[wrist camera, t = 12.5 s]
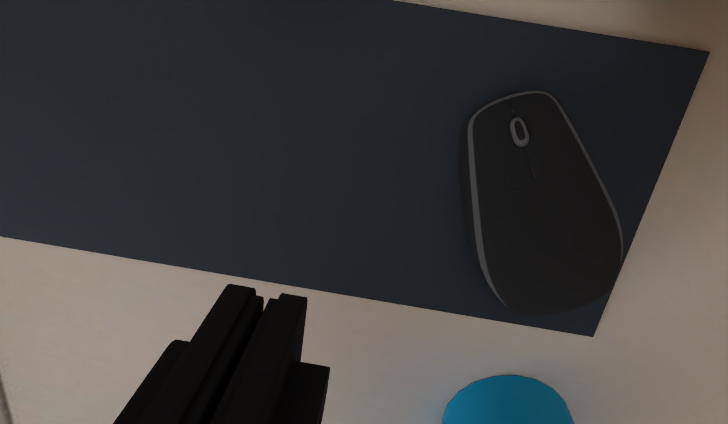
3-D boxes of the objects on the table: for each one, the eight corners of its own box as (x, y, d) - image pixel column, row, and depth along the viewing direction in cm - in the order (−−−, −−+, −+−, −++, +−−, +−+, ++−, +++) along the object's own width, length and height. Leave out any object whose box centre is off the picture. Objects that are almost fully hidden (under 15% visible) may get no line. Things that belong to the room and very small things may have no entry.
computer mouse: (577, 68, 22) (611, 78, 19) (617, 285, 27) (652, 329, 23) (432, 116, 24) (437, 134, 20) (492, 315, 28) (505, 361, 24)
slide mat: (-59, -73, 22) (-63, -74, 22) (707, 51, 22) (710, 52, 22) (-8, 233, 29) (-10, 234, 28) (591, 334, 28) (593, 337, 28)
